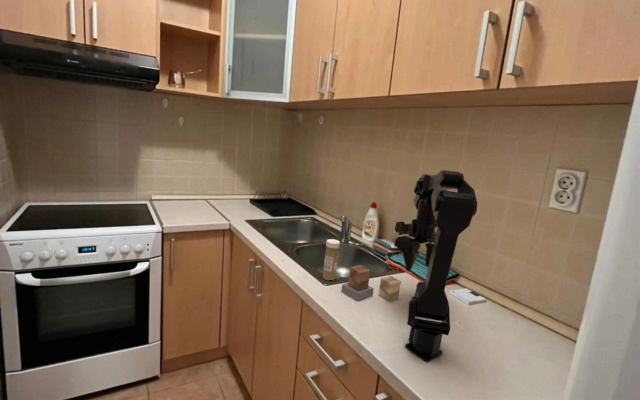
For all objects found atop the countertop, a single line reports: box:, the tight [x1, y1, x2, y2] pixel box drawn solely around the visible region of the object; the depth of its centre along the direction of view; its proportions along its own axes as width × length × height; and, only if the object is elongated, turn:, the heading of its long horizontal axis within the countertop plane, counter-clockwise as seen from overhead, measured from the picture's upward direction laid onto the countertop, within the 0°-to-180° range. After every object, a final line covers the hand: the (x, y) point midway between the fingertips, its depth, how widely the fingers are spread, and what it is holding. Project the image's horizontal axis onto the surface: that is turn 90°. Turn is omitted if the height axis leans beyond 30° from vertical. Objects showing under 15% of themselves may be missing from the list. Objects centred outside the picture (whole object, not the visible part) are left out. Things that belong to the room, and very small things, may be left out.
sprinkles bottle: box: [322, 238, 341, 281], centre depth 116 cm, size 5×5×13 cm
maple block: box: [378, 275, 402, 303], centre depth 108 cm, size 4×4×6 cm
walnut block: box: [347, 264, 371, 291], centre depth 107 cm, size 4×4×6 cm
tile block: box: [340, 282, 375, 303], centre depth 108 cm, size 7×7×3 cm
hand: (417, 268), depth 102 cm, fingers open, 9 cm apart
